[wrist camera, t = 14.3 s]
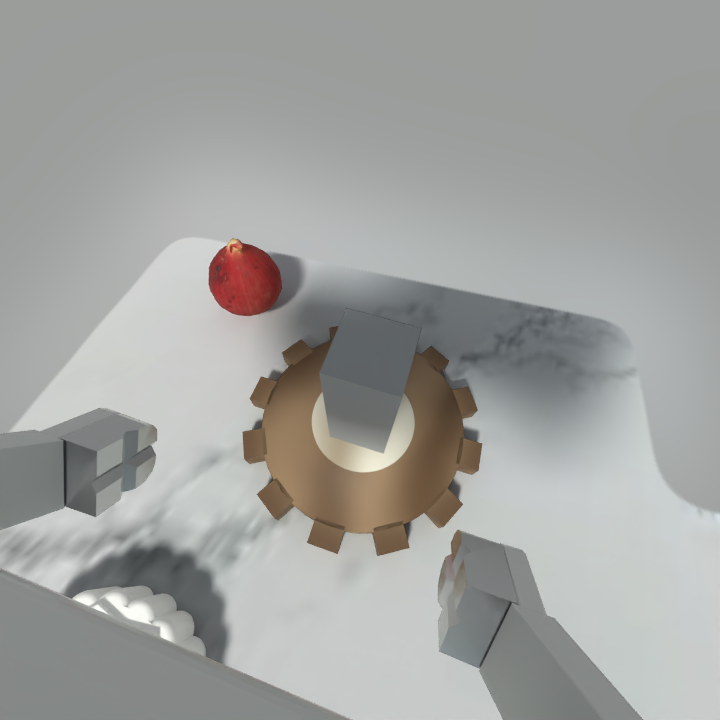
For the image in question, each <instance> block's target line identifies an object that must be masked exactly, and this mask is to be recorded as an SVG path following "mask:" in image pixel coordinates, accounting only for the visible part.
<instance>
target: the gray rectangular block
mask: <svg viewBox="0 0 720 720" xmlns="http://www.w3.org/2000/svg"><path fill="white" fill-rule="evenodd" d="M420 332H421V328H419V327H415V326H412V325H408V324H404V323H400V322H397V321H393V320H389V319H385V318H382V317H378V316H374V315H371V314H367V313H363V312H359V311H356V310H352V309H348V308H346V311H345V313H344V315H343V318H342V320H341V323H340V325H339V327H338V330H337V332H336V334H335V337H334V339H333V342H332V344H331V346H330V349H329V351H328V354H327V356H326V358H325V361H324V363H323V365H322V368H321V370H320V373H319V374H320V380H321V386H322V392H323V398H324V404H325V410H326V416H327V422H328V428H329V434H330V437H332V438H336V439H339V440H342V441H345V442H348V443H351V444H354V445H357V446H361V447H364V448H367V449H370V450H373V451H376V452H379V453H383V454H384V451H385V448H386V445H387V442H388V439H389V436H390V433H391V430H392V427H393V424H394V421H395V418H396V415H397V412H398V409H399V406H400V403H401V401H402V398H403V394H404V390H405V387H406V383H407V379H408V376H409V372H410V368H411V365H412V361H413V357H414V354H415V350H416V346H417V343H418V339H419V335H420Z"/></svg>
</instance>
